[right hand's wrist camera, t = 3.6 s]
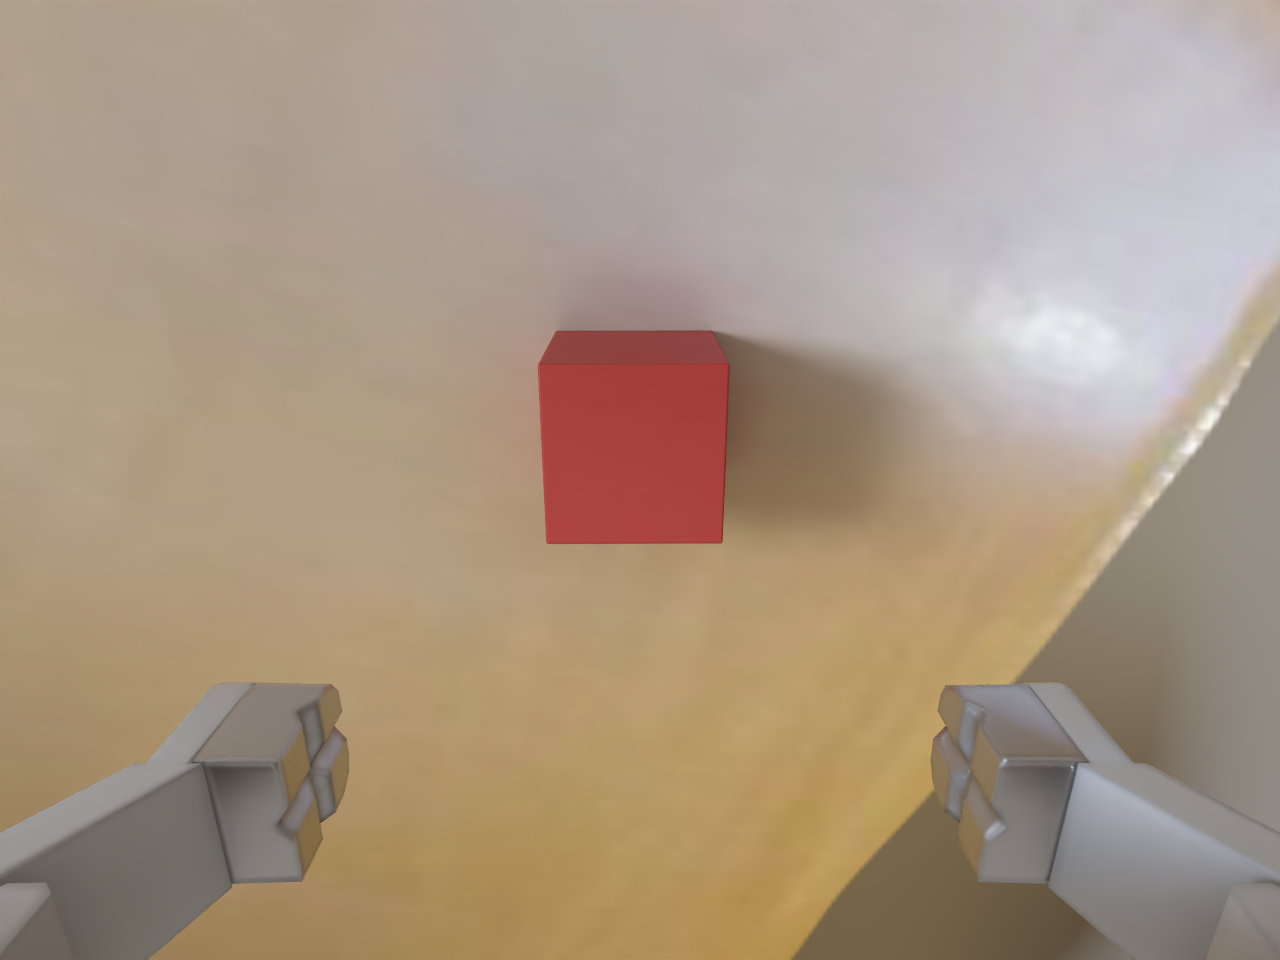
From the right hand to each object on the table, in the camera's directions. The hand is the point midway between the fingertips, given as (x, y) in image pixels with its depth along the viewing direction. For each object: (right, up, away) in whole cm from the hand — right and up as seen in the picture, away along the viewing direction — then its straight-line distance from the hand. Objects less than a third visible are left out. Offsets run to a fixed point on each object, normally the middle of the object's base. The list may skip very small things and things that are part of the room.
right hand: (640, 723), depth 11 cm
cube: (0, +6, +15) cm, 16 cm away
